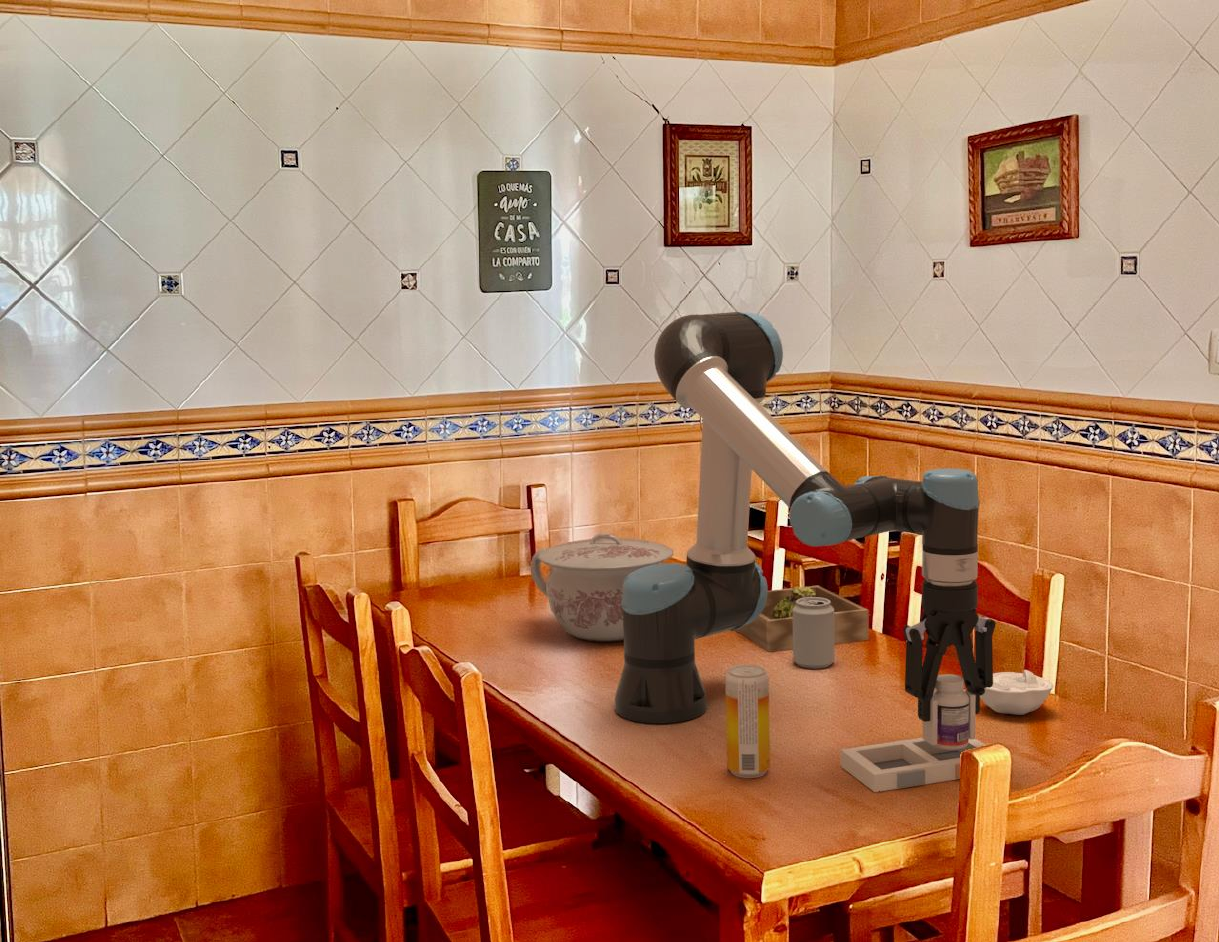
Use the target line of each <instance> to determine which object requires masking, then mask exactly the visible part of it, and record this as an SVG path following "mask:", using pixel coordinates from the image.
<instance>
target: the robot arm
mask: <svg viewBox="0 0 1219 942" xmlns="http://www.w3.org/2000/svg"><path fill="white" fill-rule="evenodd" d="M653 354H654V355H653V357H654V367H655V371H656V374H657V376H658V378H659V380H660V383H661V385H663V387H664V389H665V390H666V391H667V393H668V394H669V395H670V396H671V397H672V398H673V400H675V401H676V403H678V404H679V406H681V407H683V408H684V409H693V410H694V411H695V412H696V413H697V414H698V415H699V416H700V418H701V419H702V426H701V443H700V445H701V446H700V461H699V462H700V467H699V485H698V486H699V487H698V502H697V503H698V505H697V507H698V508H697V522H696V524H697V525H696V541H695V543H694V544H693V546H691V547H690V548H689V549H688V550H686V564H683V563H678V562H676V563H675V562H668V563H667V562H662V563H661V565H650V566H646V567H643V568H640V569H638V570H635V571H634V572H632V573H630V574H629V575H628V576H627V577H626V579H625V580H624V583H623V597H622V602H621V604H622V609H623V630H624V640H623V657H624V662H623V663H624V664H623V668H622V672H621V675H620V677H619V678H620V679H619V681H618V684H617V689H616V692H615V697H614V704H615V705H614V707H615V708H614V709H615V712H616V714H617V715H618V716H620V717H622V718H624V719H627V720H629V721H633V722H637V723H643V724H644V723H645V724H675V723H680V722H686V721H690V720H692V719H696V718H699V716H701V715H703V714H704V713H705V712H706V711H707V710H708V709H707V706H708V705H707V701H708V700H707V693H706V690H705V687H704V684H703V682H702V678H701V676H700V674H699V670H698V667H697V664H696V653H695V648H696V647H695V641H696V640H698V639H702V638H705V637H709V636H713V635H717V634H721V633H725V632H729V631H736V629H738V628H741V627H742V626H744V625H747V624H749V623H751V622H753V621H754V620H755V619H757V618H758V616H759V615H760V614H761V612H762V611H763V609H764V607H765V604H766V600H767V591H768V582H767V578H766V577H765V576H763V573H764V571H763V569H762V568H761V567H760V565H759V563H757V562H756V555H755V553H754V552H753V551H752V549H750V548H749V546H748V538H749V537H748V534H749V523H750V522H749V521H750V520H749V519H750V518H749V517H750V502H751V486H752V472H754V473H755V474H756V475H757V476H758V477H759V478H760V480H762V481H763V482H764V483H765V485H766V486H767V487H769V488H770V489H771V491H772V492H773V493H774V494H775V495H777V497H778V498H779V499H780V500H781V501H782V502H783V503H784V504H785V505H786V506H787V507H788V508H789V509H790V510H789V524H790V526H791V527H792V530H793V534H794V536H795V537H796V538H797V539H798V540H799V541H800V542H801V543H802V544H804V545H807V546H810V547H824V546H826V547H827V546H834V545H839V544H840V543H844V542H848V541H851V540H855V539H860V538H863V537H864V538H866V537H870V536H875V535H879V534H883V533H887V532H903V533H908V534H909V533H910V534H915V535H921V537H922V541H921V543H922V551H921V552H922V560H921V563H922V564H921V576H922V577H923V578H924V580H923V581H922V583H921V584H922V585H921V592H922V593H921V604H922V608H923V612H922V616H921V618H920V622H918V623H916V624H913V625H907V624H906V625H904V626H903V627H902V632H903V635H904V639H905V641H906V642H905V644H906V645H905V669H904V670H905V673H904V676H905V677H904V690H905V692H906V693H907V694H909V695H911V696H912V697H915V698H917V716H918V719H919V720H921V722H922V738H923V740H925V741H926V742H928V743H930V744H931V745H937V709H938V700H936V699H934V698H933V693H934V691H935V690H936V688H935V685H936V681H937V677H938V675H939V672H940V668H941V664H942V660H943V657H944V655H945V654H946V653H947V651H948V650H947V649H948V647H952V646H954V648H955V651H956V654H957V655H956V656H957V658H958V659H957V660H958V663H959V667H960V670H961V675H962V678H963V679H964V688H966V689H963V690H962V691H963V692H965V693H966V694H967V695H968V697H969V739H970V740H972V739H976V715H979V713H980V711H981V698H980V695H983V694H984V693H985V688H986V687H988V688H990V687H992V685H993V673H994V670H993V669H994V665H993V663H994V661H993V660H994V658H993V656H994V654H993V637H994V635H993V634H994V633H995V629H996V625H997V623H996V621H995V620H993V619H991V618H989V617H986V616H985V615H984V616H983V615H982V616H979V614H978V612H977V607H978V601H979V599H978V598H979V597H978V593H979V592H978V591H979V589H978V588H979V586H978V585H979V584H978V583H977V582H976V581H975V580H977V578H978V570H979V569H978V568H979V567H978V561H979V560H978V559H979V557H978V555H979V552H978V551H979V549H978V548H979V546H978V531H979V530H978V529H979V512H980V511H979V510H980V509H979V508H980V502H981V501H980V499H979V483H978V481H979V480H978V477H977V476H976V474H975V473H974V472H973V471H970V470H968V469H963V468H962V469H961V468H934V469H929V470H926V471H925V472H923V474H922V480H921V481H919V480H911V479H904V478H903V479H901V478H896V477H889V476H886V475H878V476H875V475H874V476H873V475H872V476H871V475H865V476H862V477H860V478H858V479H857V480H856V482H854V483H853V484H850V485H843V484H841V482H840V481H839V480H838V479H836V477H834V476H833V475H832V474H831V473H830V472H829V471H828V470H827V469H826V468H825V467H824V466H823V465H822V464H821V463H820V462H819V461H818V460H817V459H816V458H815V457H813V455H811V454H810V452H808V450H807V449H806V448H804V447H803V445H801V443H800V442H799V441H797V439H796V438H794V436H792V435H791V434H790V432H788V431H787V430H786V429H785V428H784V426H782V425H781V424H780V422H778V420H776V419H775V418H774V417H773V416H772V415H771V414H770V413H769V412H768V411H767V410H766V409H765V408H764V407H763V406H762V405H761V403H762V402H763V400H765V398H766V392H767V383H769V382H770V381H771V380H772V379H774V378H775V377H776V375H777V373H779V371H780V369H781V367H782V363H783V357H784V355H783V354H784V352H783V343H782V339H781V337H780V335H779V333H778V331H777V329H776V328H774V326H773V324H772V322H771V321H770V320H768V319H767V318H765V317H764V316H763V315H760V314H757V313H753V312H741V311H733V312H730V311H729V312H721V313H718V312H717V313H707V314H706V313H705V314H697V313H696V314H689V315H684V316H681V317H678V318H677V319H674V320H673V321H671V322H670V323H669V324H668V325H667V326H666V327H665V328H664V329H663V330H662V332H661V333H660V335H659V336H658V339H657V341H656V344H655V349H654V353H653ZM974 630H975V633H974V634H975V635H974V636H975V637H974V639H975V655H974V651H973V649H974V645H973V641H972V636H971V634H972V632H973V631H974ZM924 632H925V633H926V635H927V638H926V642H925V648H926V651H925V655H924V659H923V653H924V652H923V651H924V649H923V648H924V647H923V646H924V645H923V640H924V639H925V636H924Z"/></svg>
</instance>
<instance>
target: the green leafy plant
mask: <svg viewBox="0 0 1219 942" xmlns="http://www.w3.org/2000/svg"><path fill="white" fill-rule="evenodd" d="M801 587H803V588H801ZM804 587H805V588H804ZM791 588H792V590H791V592H792V594H793V597H792V595H791V597H785V598H784V599H783V598H782V599H781V601H780V602H779V601H778V604H777V605H776V606H775V608H774V609H772V610H773V615H772V616H773V617H774V619H780V618H789V617H793V608H794V607H795V606H796V604H797V603H796V601H797V600H798V599H800V598H806V597H813V596H815V593H814V591H813V589H810V587H809V586H797V585H795V587H791Z"/></svg>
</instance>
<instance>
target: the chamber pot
mask: <svg viewBox="0 0 1219 942" xmlns="http://www.w3.org/2000/svg"><path fill="white" fill-rule="evenodd" d="M673 556H674V549H672V548H671V547H670V546H668V545H666V544H662V543H659V542H655V541H652V540H648V539H647V540H646V539H639V538H627V537H626V538H625V537H624V538H623V537H617V536H615V535H614V534H611V533H606V532H605V533H598V534H595V535H594V536H593V537H592V538H588V539H580V540H574V541H567V542H564V543H559V544H557V545H554V546H551V547H548V548H546V547H543V548H540V549H539V550H538V551H536V552H535V553H534V554H533V556H532V559H531V561H530V570H529V571H530V574H531V578H532V580H533V582H534V583H535V585H536V586H537V587H538V589H539V591H540V592H541V593H543V594H544V595H545V596H546V597H547V599H548V600H547V601H548V603H549V607H550V611H551V613H552V614H553V615H554V617H555V619H556V620H557V621H558V623H559V624H560V626H561V627H562V629H563V630H564V631H565V632H566V633H567V634H568V635H570V636H572V637H575V638H578V639H581V640H584V641H589V642H596V643H611V642H612V643H614V642H624V630H623V609H622V604H621V602H622V597H623V583H624V580H625V579H626V577H627V576H628V575H629V574H630V573H632V572H634V571H635V570H638V569H640V568H643V567H646V566H650V565H661V564H663V563H665V562H666V561H667V560H669V559H670V558H672V557H673ZM541 562H542V563H543V565H547V566H550V570H549V573H548V574H547V576H546V580H545V578H544V577H543V573H542V571H541Z"/></svg>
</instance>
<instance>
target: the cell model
mask: <svg viewBox="0 0 1219 942" xmlns="http://www.w3.org/2000/svg"><path fill="white" fill-rule="evenodd" d="M1053 688H1054V684H1053V683H1052V682H1051V681H1050V680H1048V679H1046V678H1043V677H1040V676H1038V675H1035V674H1034V673H1033V672H1032V671H1030V670H1028V669H1023V671H1022V673H1021V672H1012V671H1002V672H1001V671H1000V672H993V685H992V687H990V688H988V687H986V688H985V693H984V694H983V695H980V700H981V701H982V702H983V703H984V705H986V706H988V707H989V708H990V709H991V710H993V711H994V712H996V713H997V714H998V713H999V714H1009V715H1015V716H1018V715H1019V716H1023V715H1026V714H1028V713H1031V712H1033V711H1037V709H1040V707H1041V706H1042V704H1044V702H1045V701H1046V699H1048V697H1049V695H1050V693H1051V691H1052V690H1053Z"/></svg>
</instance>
